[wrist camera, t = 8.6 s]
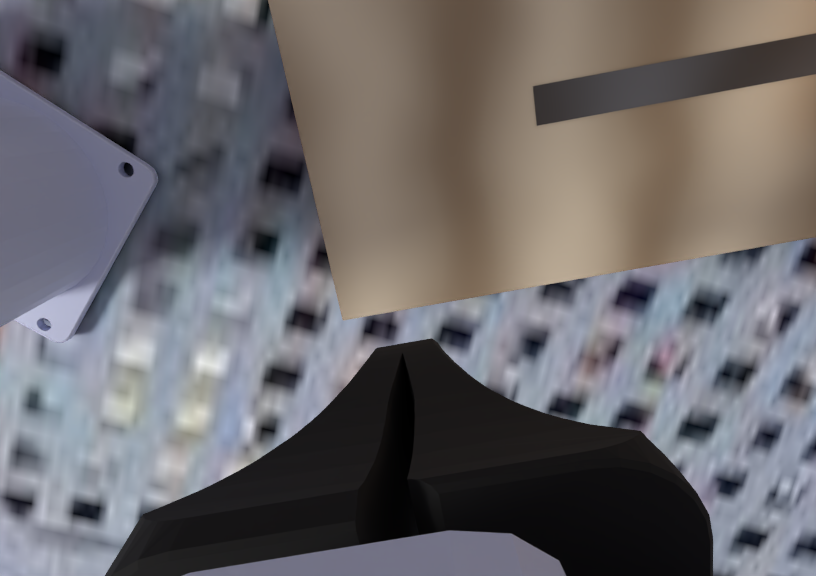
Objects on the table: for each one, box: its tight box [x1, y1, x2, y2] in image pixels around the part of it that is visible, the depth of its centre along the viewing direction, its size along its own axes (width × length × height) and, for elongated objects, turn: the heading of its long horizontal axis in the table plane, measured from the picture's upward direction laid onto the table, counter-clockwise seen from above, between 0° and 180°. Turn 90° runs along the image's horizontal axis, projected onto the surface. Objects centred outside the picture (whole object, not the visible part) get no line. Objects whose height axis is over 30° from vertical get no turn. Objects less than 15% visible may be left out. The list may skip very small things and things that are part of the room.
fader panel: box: [268, 0, 816, 320], centre depth 18 cm, size 22×12×2 cm, turn 100°
